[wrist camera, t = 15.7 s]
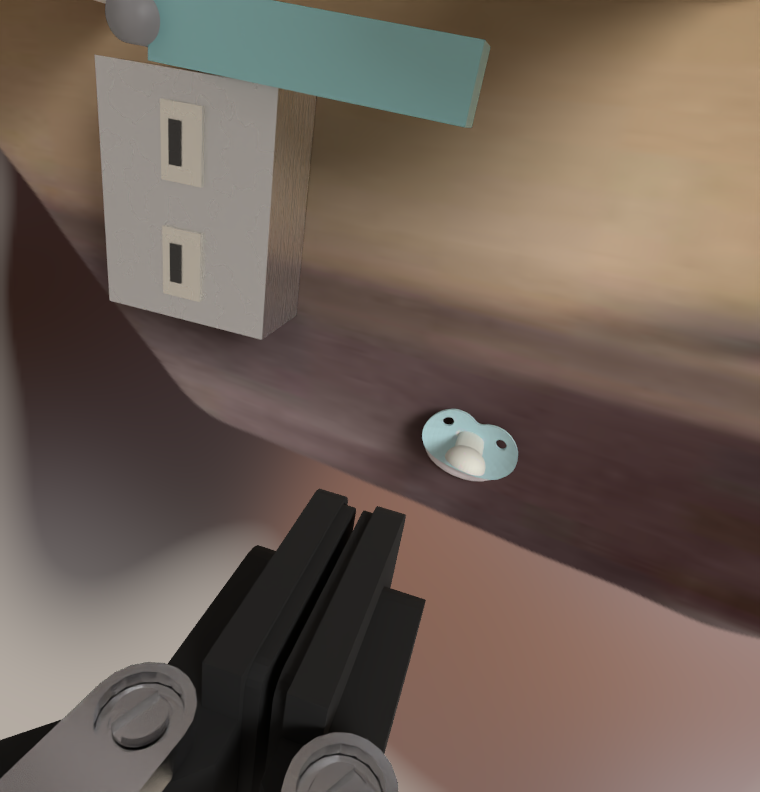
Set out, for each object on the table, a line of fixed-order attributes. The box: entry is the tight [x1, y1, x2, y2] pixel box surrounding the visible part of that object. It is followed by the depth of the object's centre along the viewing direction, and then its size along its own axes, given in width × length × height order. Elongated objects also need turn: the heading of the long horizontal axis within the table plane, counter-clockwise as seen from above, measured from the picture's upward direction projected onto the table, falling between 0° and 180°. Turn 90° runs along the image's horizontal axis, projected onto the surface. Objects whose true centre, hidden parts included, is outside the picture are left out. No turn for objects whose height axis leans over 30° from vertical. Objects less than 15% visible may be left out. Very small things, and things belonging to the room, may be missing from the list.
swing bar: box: [105, 0, 491, 128], centre depth 32 cm, size 19×4×11 cm, turn 79°
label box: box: [95, 55, 317, 340], centre depth 40 cm, size 16×12×6 cm
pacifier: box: [422, 409, 518, 481], centre depth 43 cm, size 7×6×6 cm
